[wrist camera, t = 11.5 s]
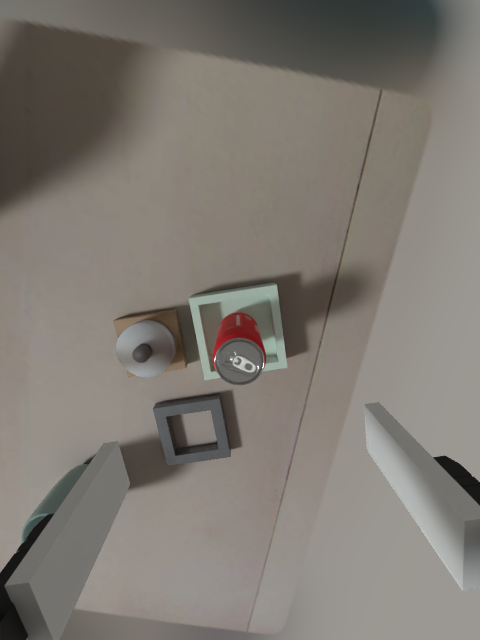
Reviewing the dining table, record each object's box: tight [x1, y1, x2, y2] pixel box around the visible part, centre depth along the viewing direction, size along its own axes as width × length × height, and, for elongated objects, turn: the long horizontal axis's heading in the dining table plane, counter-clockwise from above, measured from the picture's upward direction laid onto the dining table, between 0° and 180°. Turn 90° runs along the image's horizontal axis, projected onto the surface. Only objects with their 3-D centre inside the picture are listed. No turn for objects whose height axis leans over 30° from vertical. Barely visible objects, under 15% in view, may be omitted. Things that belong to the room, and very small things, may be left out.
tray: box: [189, 282, 287, 380], centre depth 37 cm, size 11×11×3 cm
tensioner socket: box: [153, 394, 231, 466], centre depth 41 cm, size 10×10×2 cm
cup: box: [22, 464, 89, 543], centre depth 39 cm, size 8×8×10 cm
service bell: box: [114, 309, 188, 377], centre depth 36 cm, size 8×8×6 cm
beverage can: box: [213, 312, 266, 385], centre depth 32 cm, size 5×5×12 cm
